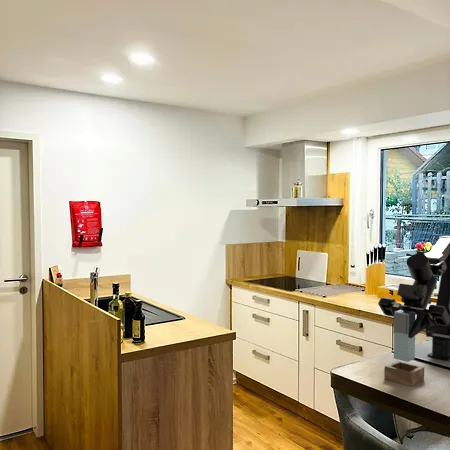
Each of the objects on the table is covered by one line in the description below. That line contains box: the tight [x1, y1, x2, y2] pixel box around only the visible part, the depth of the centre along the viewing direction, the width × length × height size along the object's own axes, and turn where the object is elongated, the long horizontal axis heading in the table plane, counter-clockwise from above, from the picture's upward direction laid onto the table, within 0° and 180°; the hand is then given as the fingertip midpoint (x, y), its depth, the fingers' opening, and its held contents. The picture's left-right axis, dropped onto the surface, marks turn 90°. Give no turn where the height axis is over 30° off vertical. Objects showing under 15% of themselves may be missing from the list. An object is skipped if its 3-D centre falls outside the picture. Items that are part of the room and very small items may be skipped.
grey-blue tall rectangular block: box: [393, 310, 417, 363], centre depth 128 cm, size 4×4×13 cm
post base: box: [383, 360, 425, 387], centre depth 128 cm, size 8×8×4 cm
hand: (402, 335), depth 127 cm, fingers closed on grey-blue tall rectangular block, 4 cm apart
